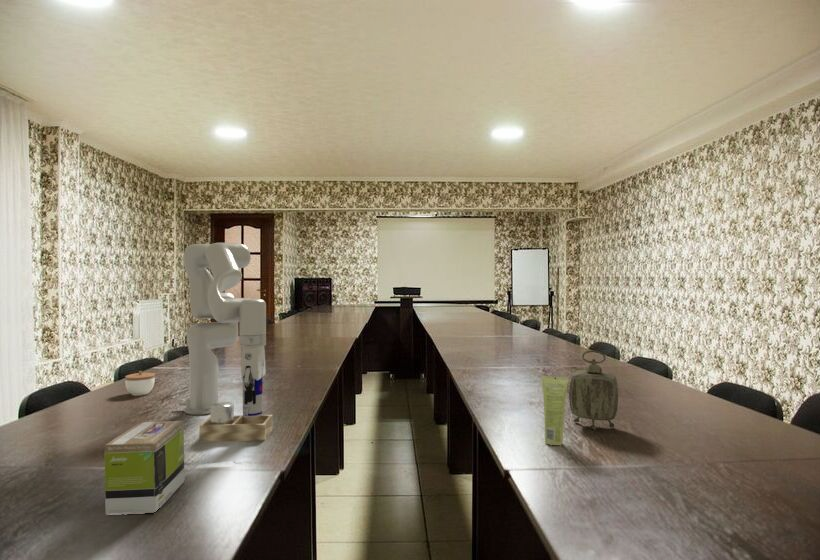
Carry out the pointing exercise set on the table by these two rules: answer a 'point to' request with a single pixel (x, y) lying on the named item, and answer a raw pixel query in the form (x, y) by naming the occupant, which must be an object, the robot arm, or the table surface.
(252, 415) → the beverage can
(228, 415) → the grey rounded cylinder
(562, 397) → the tube
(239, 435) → the caddy
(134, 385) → the lidded jar
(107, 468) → the tea box
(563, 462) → the table surface
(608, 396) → the tabletop clock
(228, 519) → the table surface
